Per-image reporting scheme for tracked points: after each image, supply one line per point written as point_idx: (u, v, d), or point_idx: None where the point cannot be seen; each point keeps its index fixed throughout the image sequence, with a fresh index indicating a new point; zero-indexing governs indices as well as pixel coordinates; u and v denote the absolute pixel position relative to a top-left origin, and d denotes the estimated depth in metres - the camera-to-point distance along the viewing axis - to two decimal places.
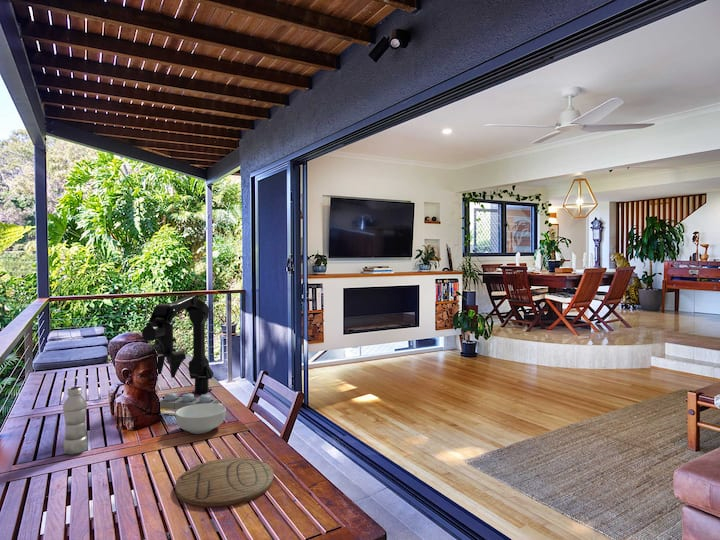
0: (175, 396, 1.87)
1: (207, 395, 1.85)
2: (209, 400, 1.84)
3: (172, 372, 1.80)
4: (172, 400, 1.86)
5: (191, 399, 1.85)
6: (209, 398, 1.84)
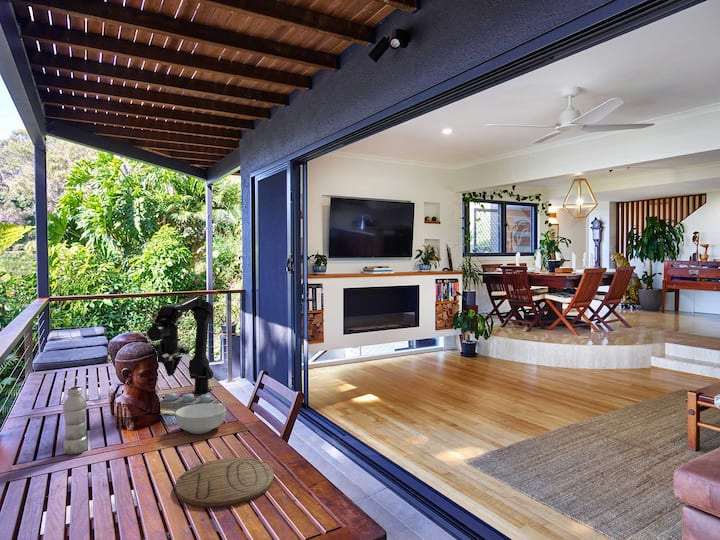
0: (175, 396, 1.87)
1: (207, 395, 1.85)
2: (209, 400, 1.84)
3: (166, 370, 1.86)
4: (172, 400, 1.86)
5: (191, 399, 1.85)
6: (209, 398, 1.84)
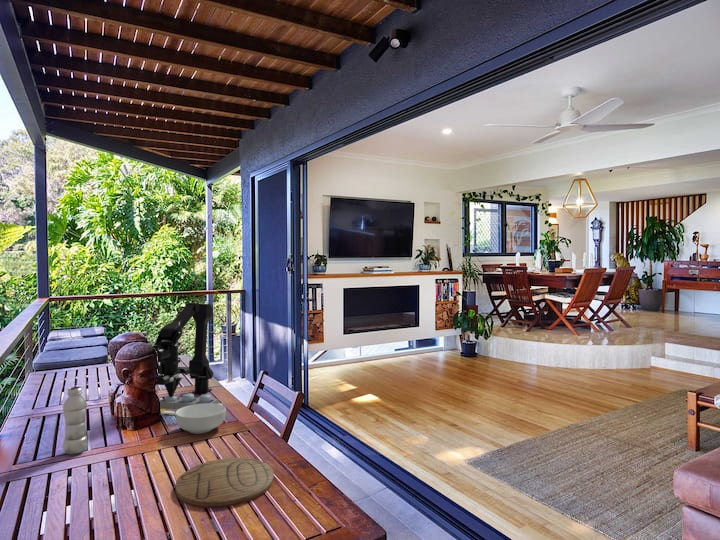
0: (175, 399, 1.87)
1: (207, 395, 1.85)
2: (209, 400, 1.84)
3: (168, 391, 1.86)
4: None
5: (191, 399, 1.85)
6: (209, 398, 1.84)
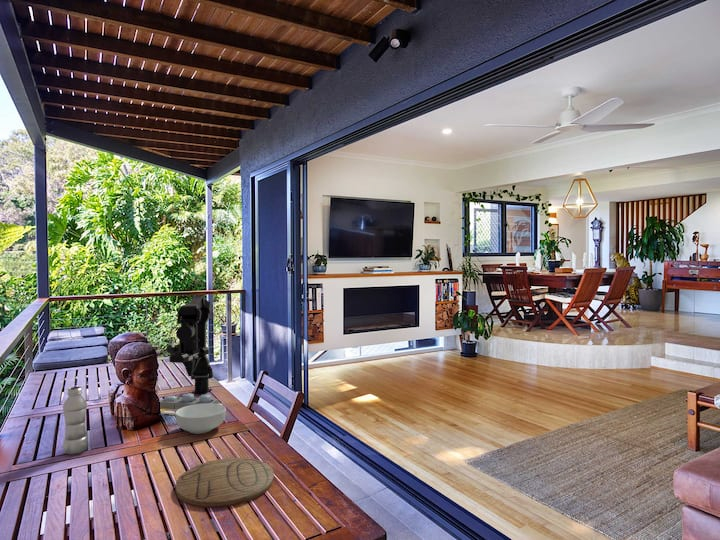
0: (175, 399, 1.87)
1: (207, 395, 1.85)
2: (209, 400, 1.84)
3: (187, 370, 1.84)
4: None
5: (191, 399, 1.85)
6: (209, 398, 1.84)
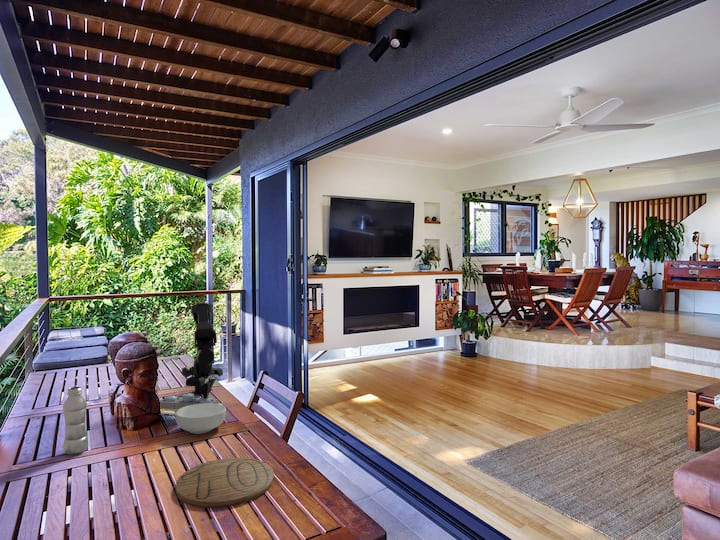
0: (175, 399, 1.87)
1: (207, 397, 1.85)
2: (209, 402, 1.84)
3: (202, 393, 1.84)
4: None
5: (191, 399, 1.85)
6: (209, 400, 1.84)
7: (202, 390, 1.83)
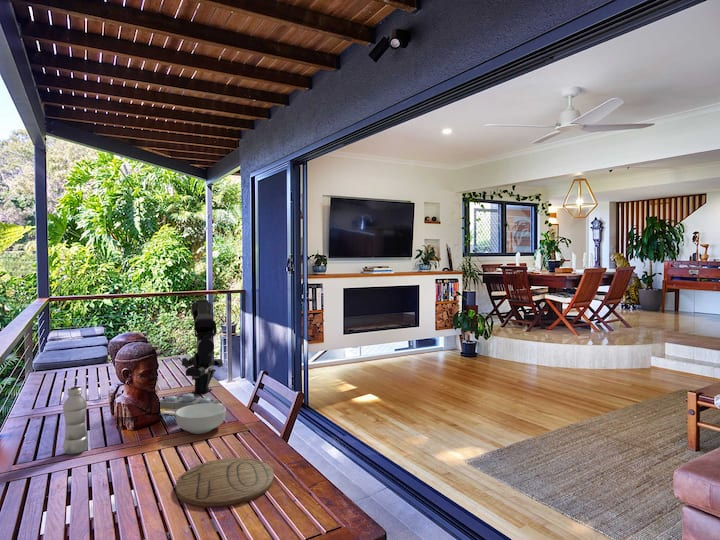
0: (175, 399, 1.87)
1: (207, 398, 1.85)
2: None
3: (202, 383, 1.83)
4: None
5: (191, 399, 1.85)
6: (209, 401, 1.84)
7: (202, 380, 1.83)
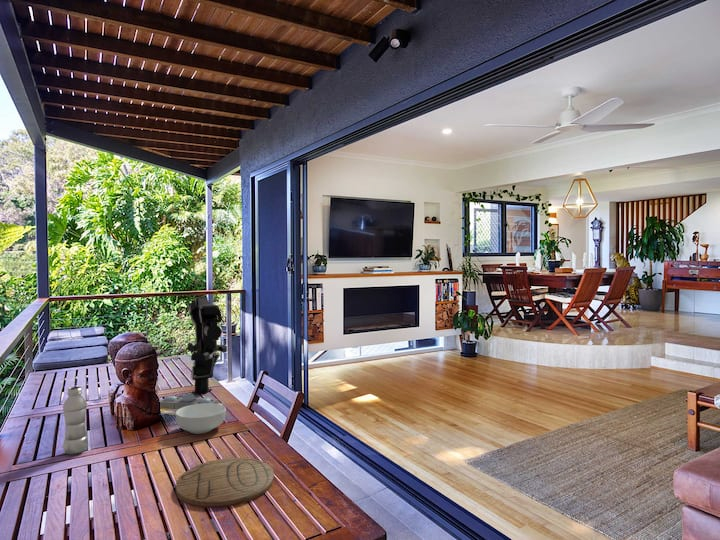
0: (175, 399, 1.87)
1: (207, 398, 1.85)
2: None
3: (207, 368, 1.92)
4: None
5: (191, 399, 1.85)
6: (209, 401, 1.84)
7: (207, 365, 1.91)
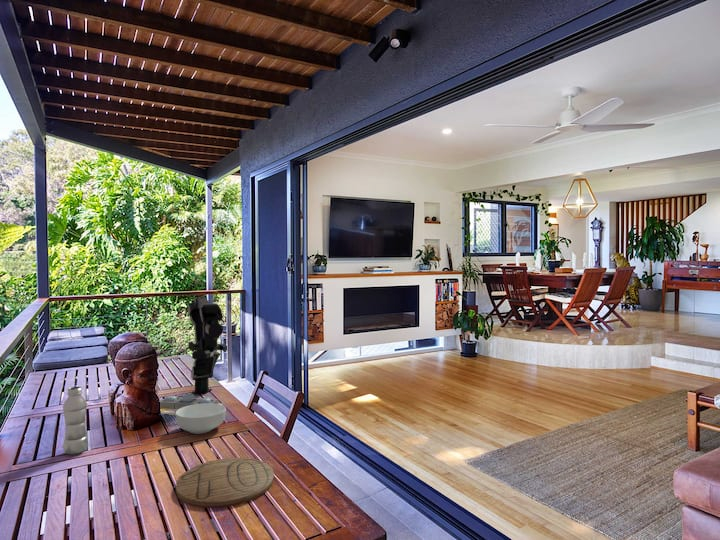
0: (175, 399, 1.87)
1: (207, 398, 1.85)
2: None
3: (208, 366, 1.93)
4: None
5: (191, 399, 1.85)
6: (209, 401, 1.84)
7: (208, 363, 1.92)
